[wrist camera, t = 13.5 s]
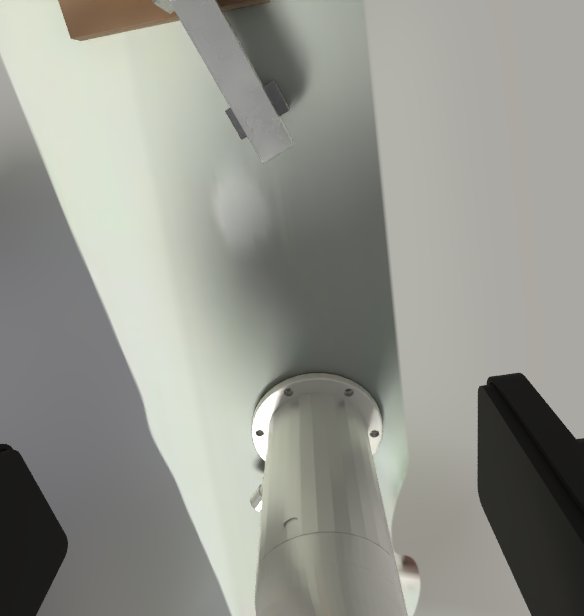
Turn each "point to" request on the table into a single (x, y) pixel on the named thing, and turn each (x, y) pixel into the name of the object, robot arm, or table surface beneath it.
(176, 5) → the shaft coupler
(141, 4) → the walnut plate
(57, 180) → the table surface
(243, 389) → the table surface
